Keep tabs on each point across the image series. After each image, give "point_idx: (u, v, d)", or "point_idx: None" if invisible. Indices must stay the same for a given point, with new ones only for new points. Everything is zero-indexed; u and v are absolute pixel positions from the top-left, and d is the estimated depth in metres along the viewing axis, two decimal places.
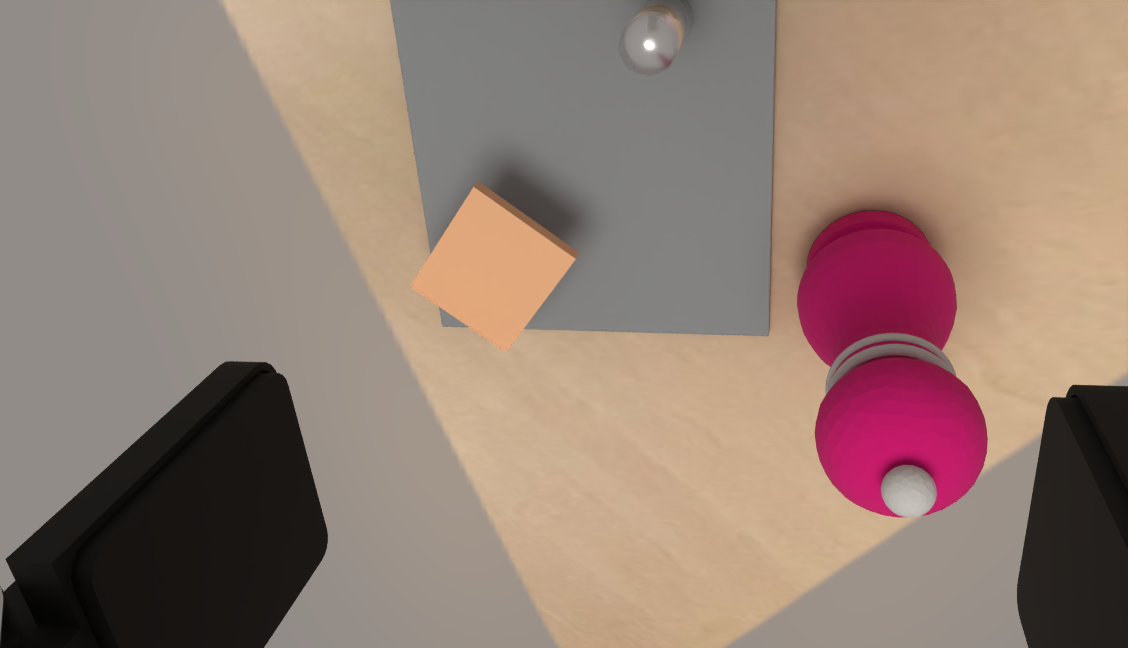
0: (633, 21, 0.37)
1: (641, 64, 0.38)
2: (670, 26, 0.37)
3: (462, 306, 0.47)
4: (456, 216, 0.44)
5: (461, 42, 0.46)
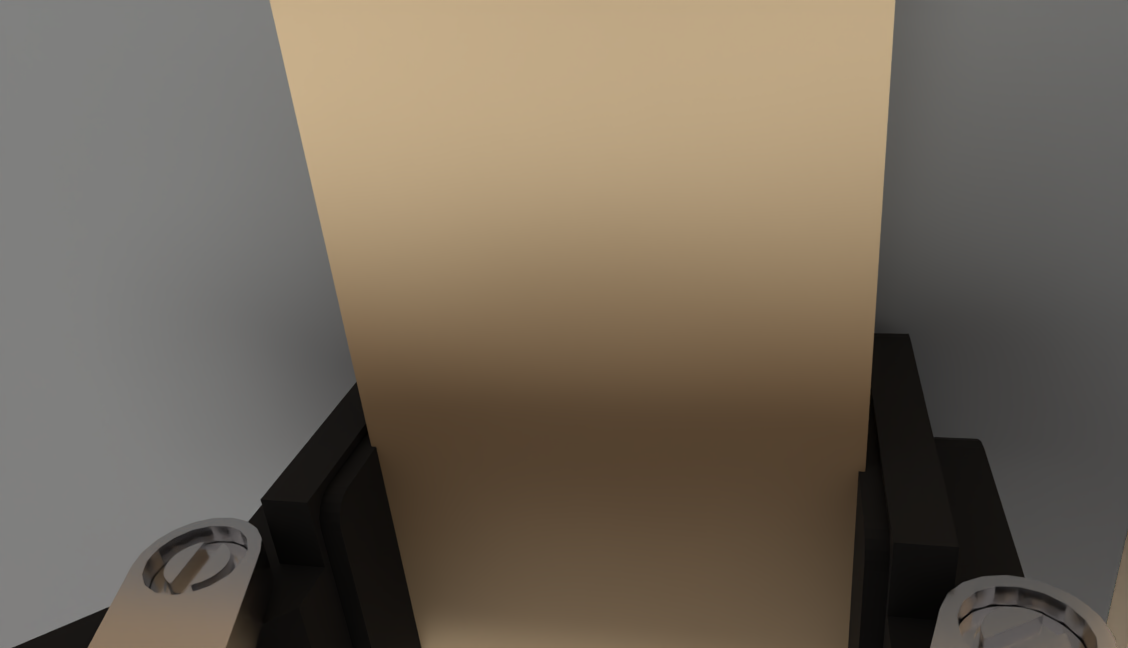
0: None
1: None
2: None
3: None
4: None
5: (87, 182, 0.13)
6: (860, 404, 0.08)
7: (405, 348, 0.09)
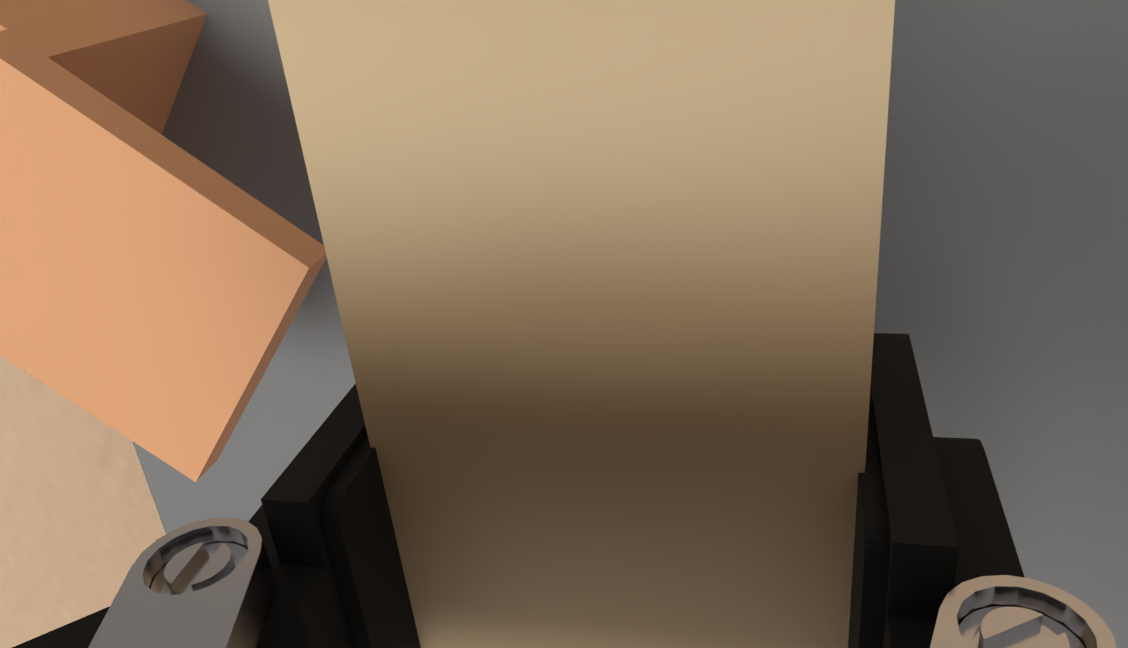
0: None
1: None
2: None
3: None
4: (214, 208, 0.15)
5: None
6: (860, 400, 0.08)
7: (403, 344, 0.09)
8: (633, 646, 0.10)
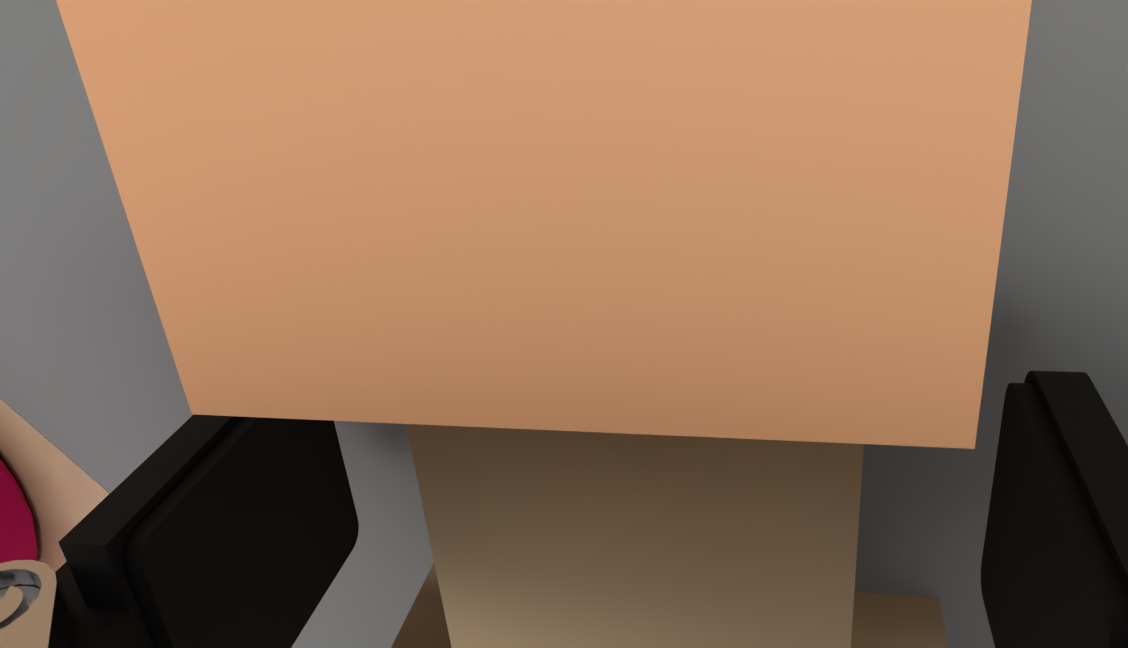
0: None
1: None
2: None
3: None
4: (994, 185, 0.05)
5: None
6: None
7: None
8: (647, 597, 0.11)
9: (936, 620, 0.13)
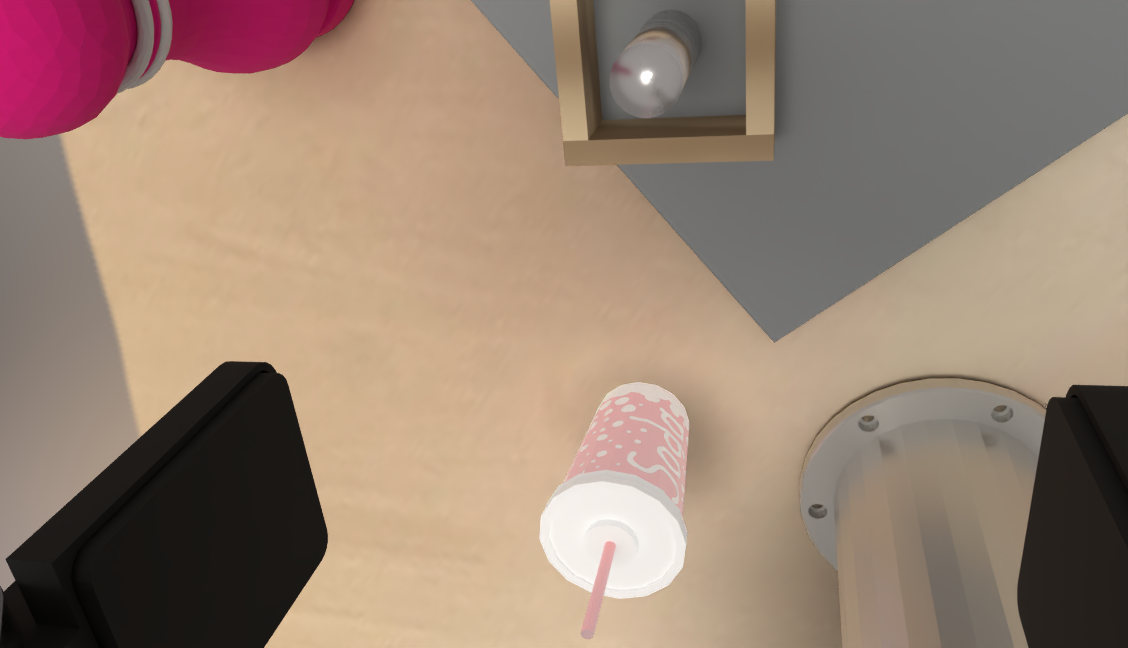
0: (678, 94, 0.30)
1: (637, 58, 0.29)
2: (639, 116, 0.30)
3: None
4: None
5: None
6: None
7: None
8: None
9: None
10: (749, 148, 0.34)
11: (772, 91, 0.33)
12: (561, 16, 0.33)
